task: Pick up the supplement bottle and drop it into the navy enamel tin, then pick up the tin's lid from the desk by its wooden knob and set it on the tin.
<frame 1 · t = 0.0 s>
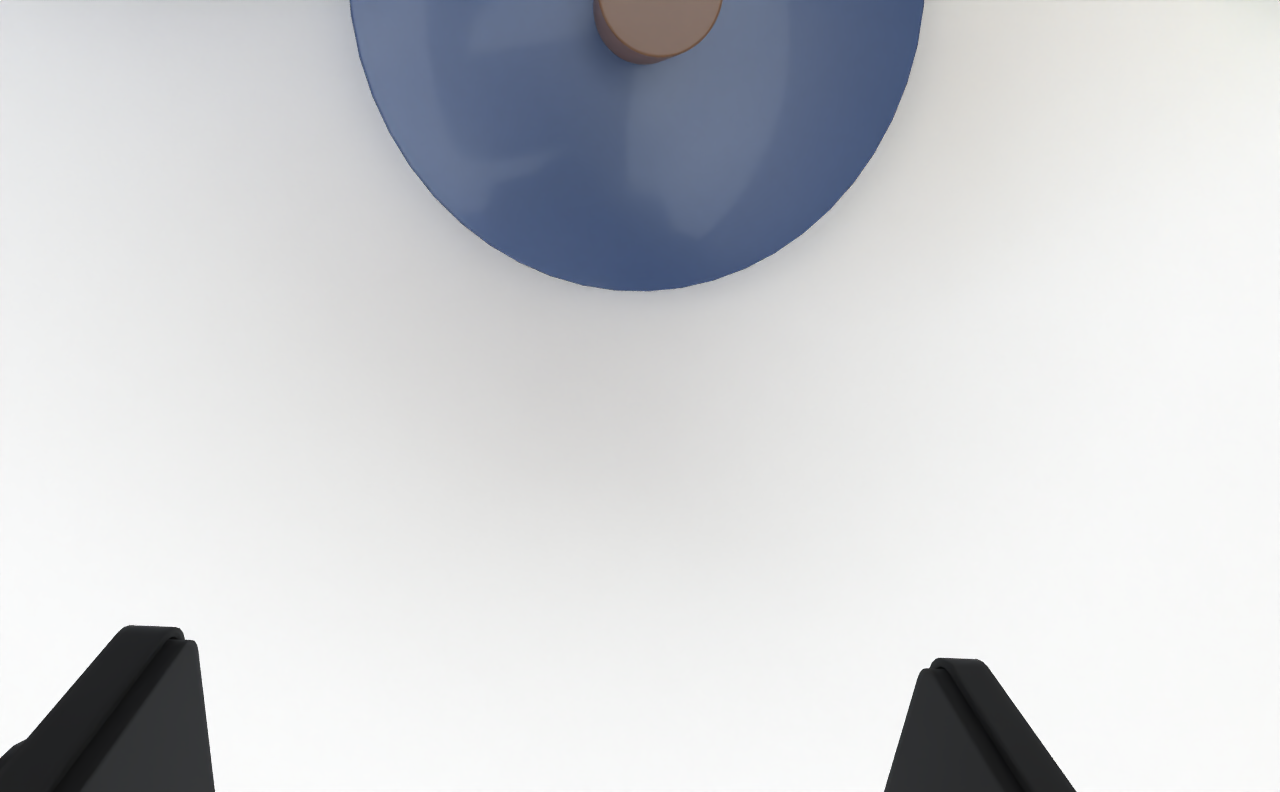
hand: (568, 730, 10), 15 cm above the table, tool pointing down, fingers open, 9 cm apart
tin lid: (642, 11, 20), point 1 cm above the table
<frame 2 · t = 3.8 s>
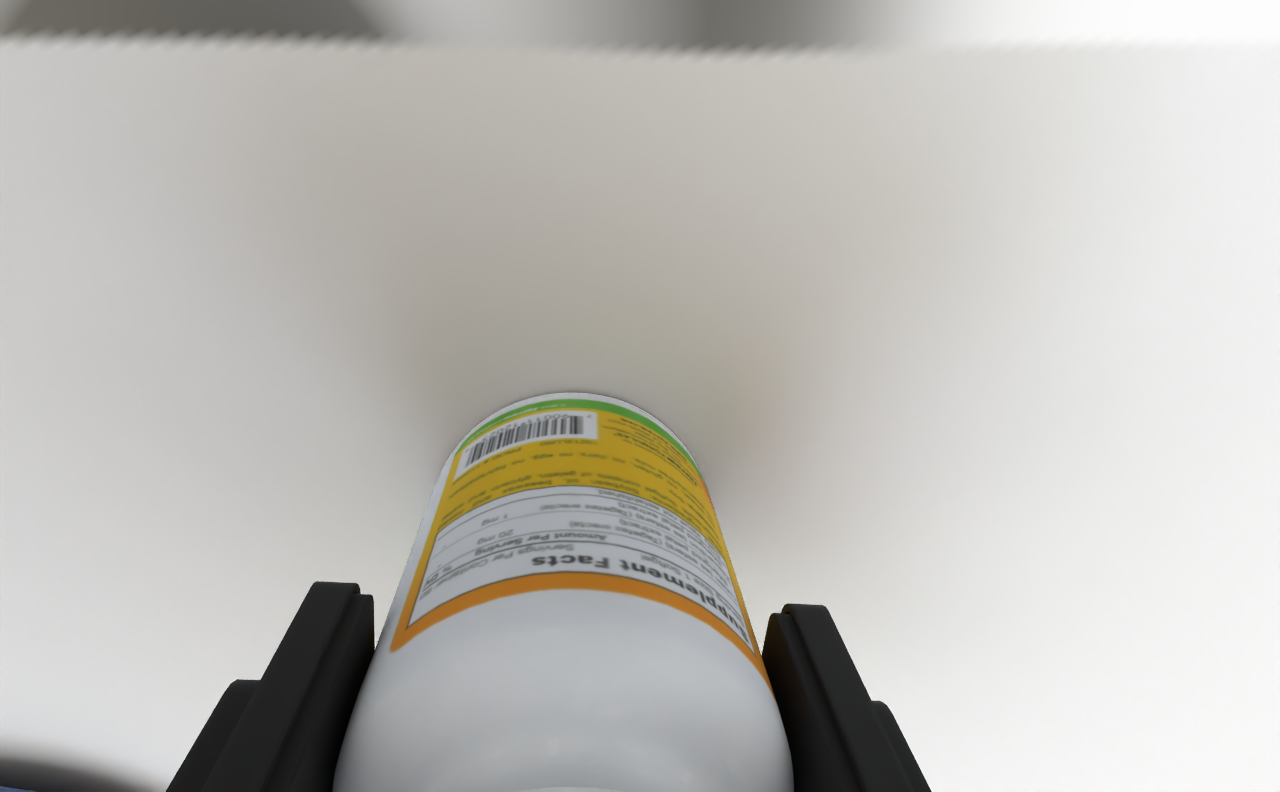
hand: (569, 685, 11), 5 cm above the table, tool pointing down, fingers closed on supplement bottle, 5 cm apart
supplement bottle: (572, 506, 16), on the table, touching gripper
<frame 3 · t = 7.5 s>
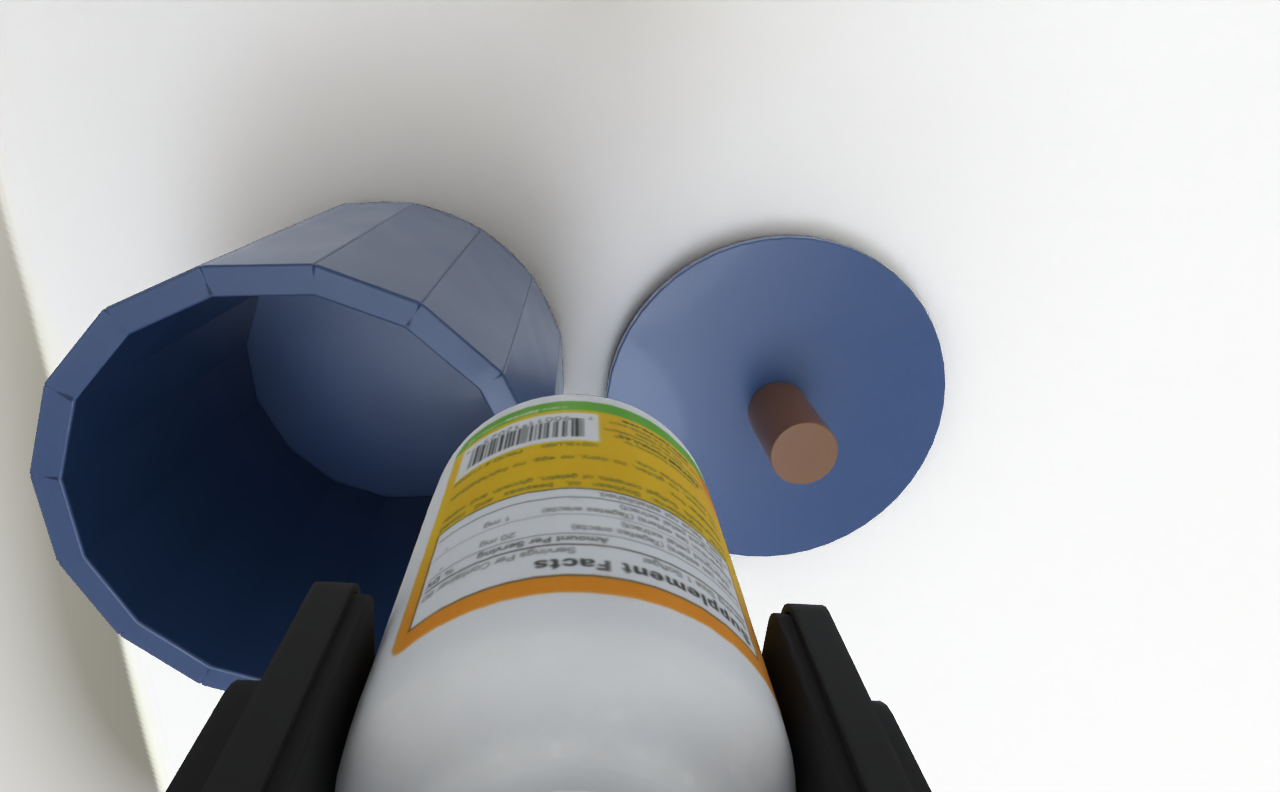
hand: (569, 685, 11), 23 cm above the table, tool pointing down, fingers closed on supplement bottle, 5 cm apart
tin: (402, 365, 33), on the table
tin lid: (774, 404, 34), point 1 cm above the table
supplement bottle: (573, 507, 16), point 18 cm above the table, touching gripper
when the fingers open (12 cm above the table, at t = 11.4 s): supplement bottle drops 6 cm, resting on tin.
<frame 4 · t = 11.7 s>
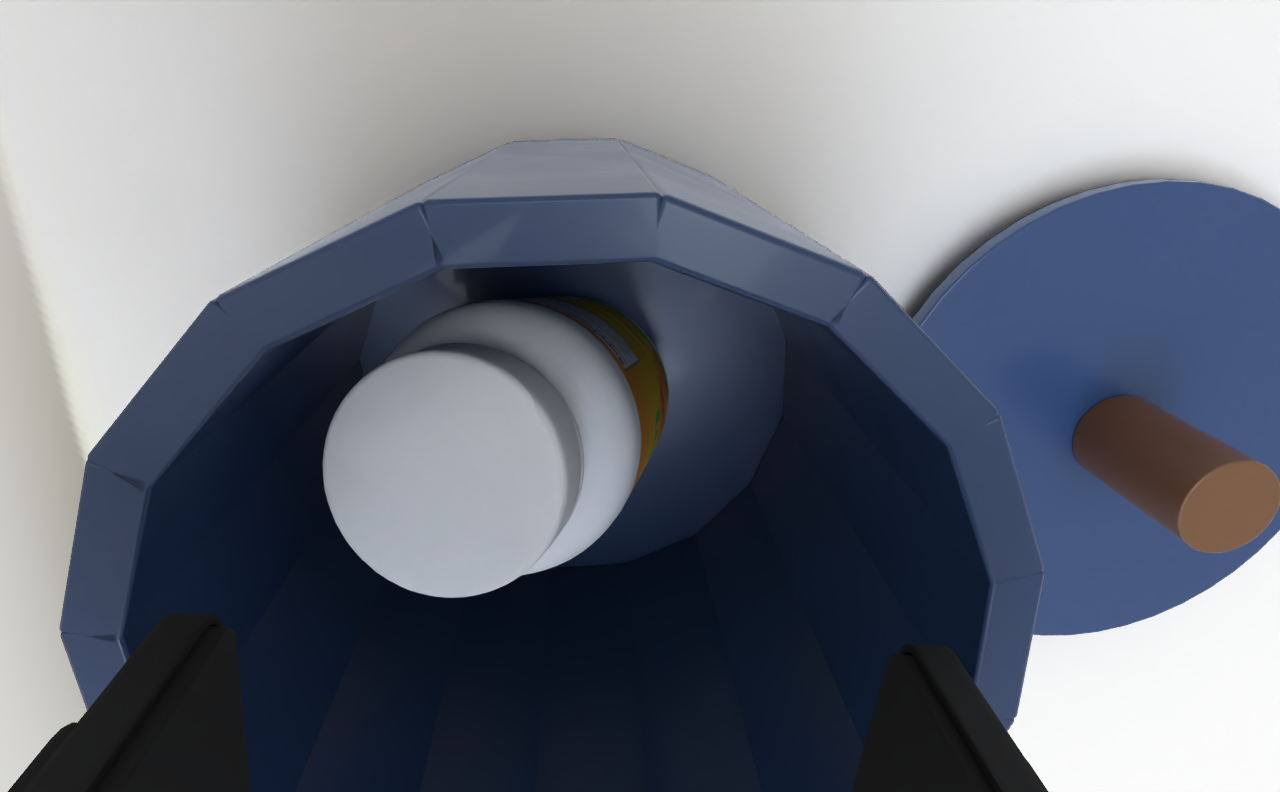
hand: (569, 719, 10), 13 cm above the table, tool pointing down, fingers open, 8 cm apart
tin: (578, 381, 23), on the table
tin lid: (1101, 426, 24), point 1 cm above the table
supplement bottle: (576, 392, 22), point 1 cm above the table, touching tin
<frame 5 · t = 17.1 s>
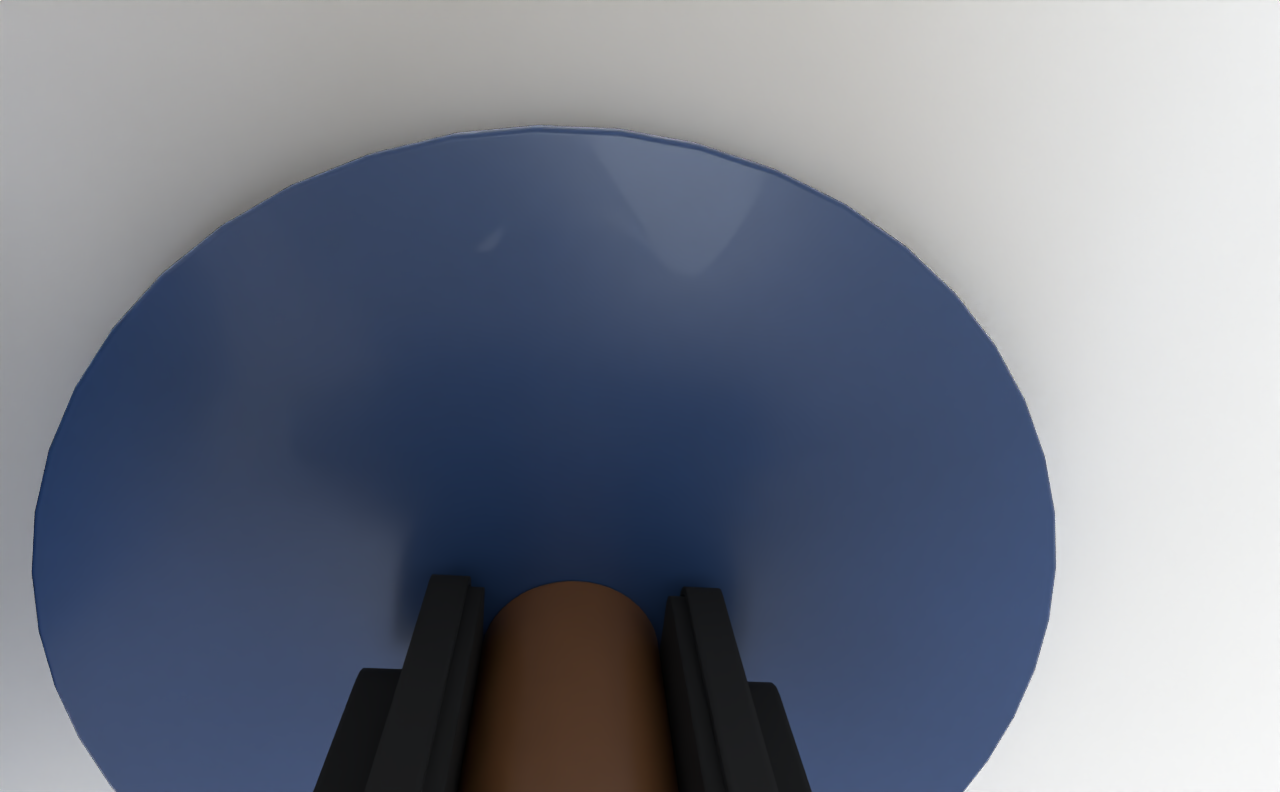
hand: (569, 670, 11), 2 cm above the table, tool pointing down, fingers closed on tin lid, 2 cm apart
tin lid: (571, 627, 12), point 1 cm above the table, touching gripper
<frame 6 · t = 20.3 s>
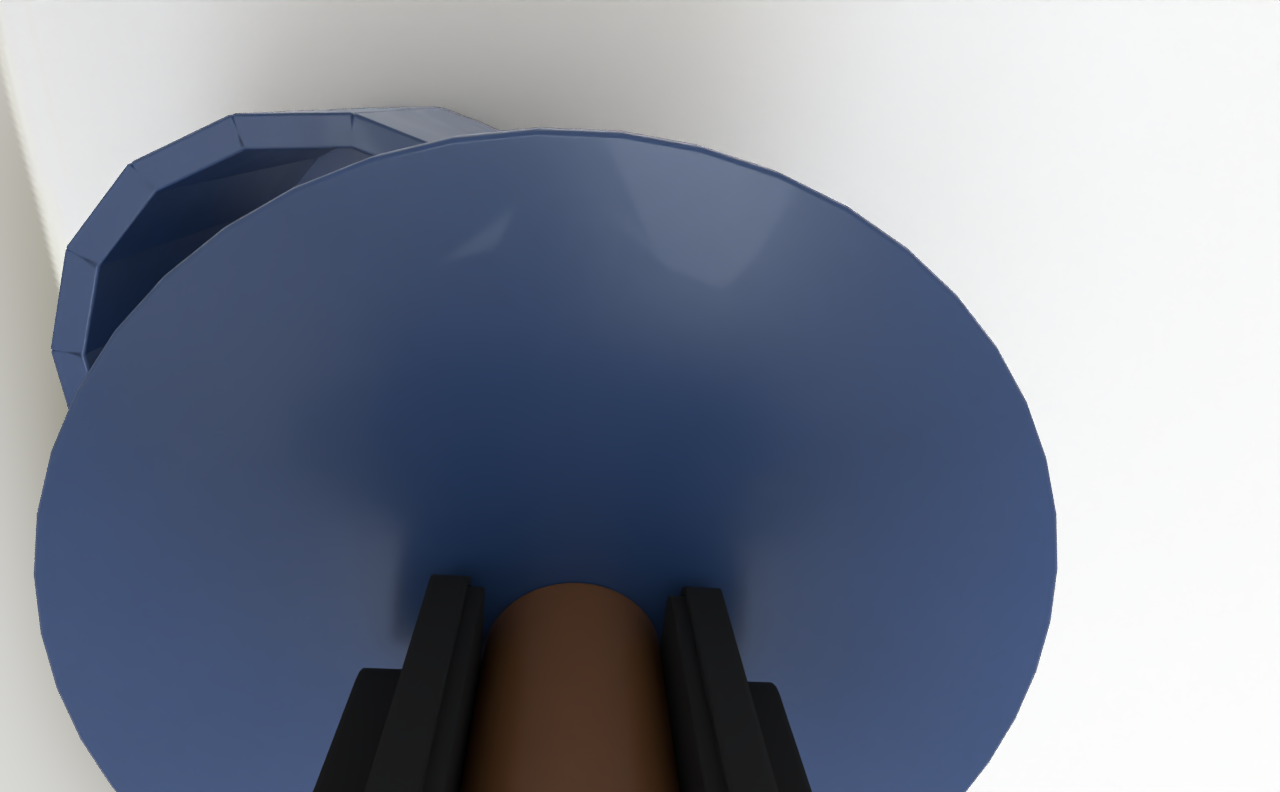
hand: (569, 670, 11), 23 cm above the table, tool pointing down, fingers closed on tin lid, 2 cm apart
tin: (427, 284, 32), on the table
tin lid: (572, 628, 12), point 22 cm above the table, touching gripper
when the fingers open (13 cm above the table, at t = 23.9 s): tin lid stays where it is, resting on tin.
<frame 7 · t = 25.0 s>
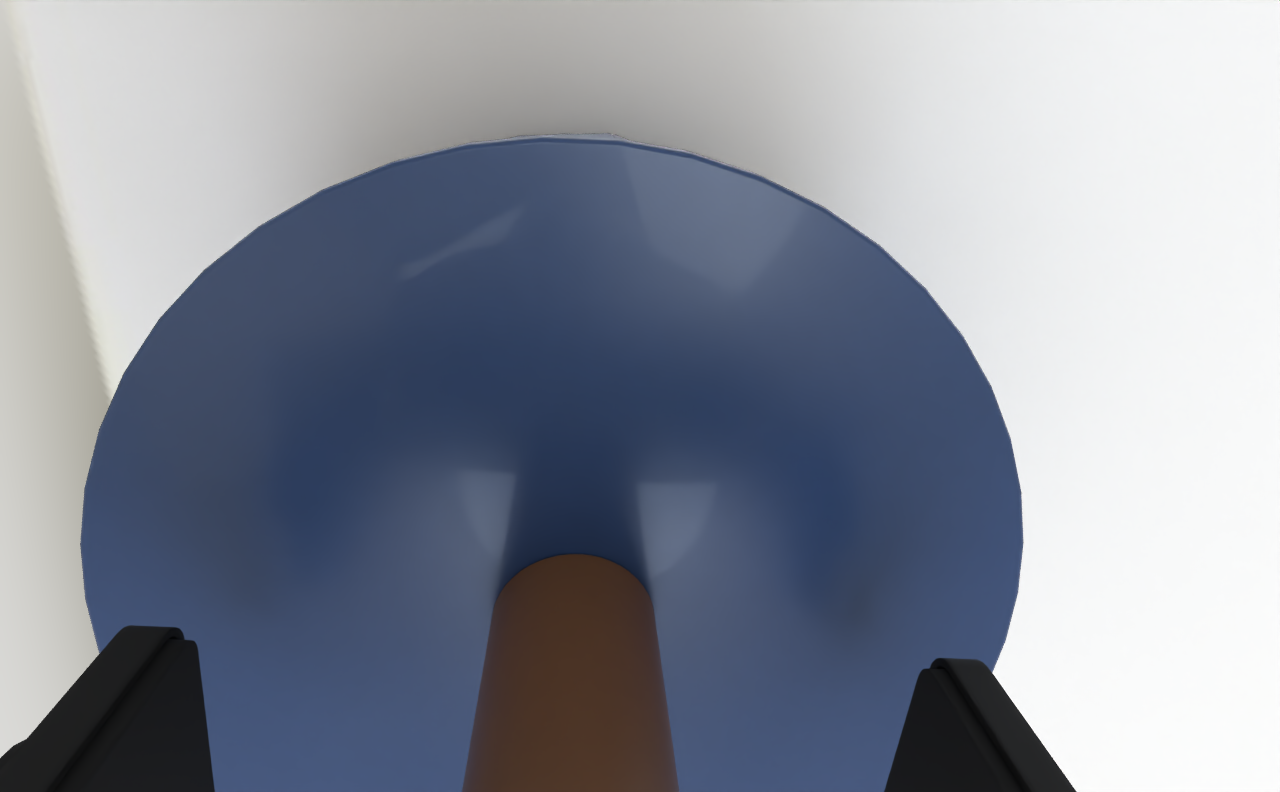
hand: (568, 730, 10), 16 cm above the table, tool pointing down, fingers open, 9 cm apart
tin lid: (574, 599, 13), point 12 cm above the table, touching tin
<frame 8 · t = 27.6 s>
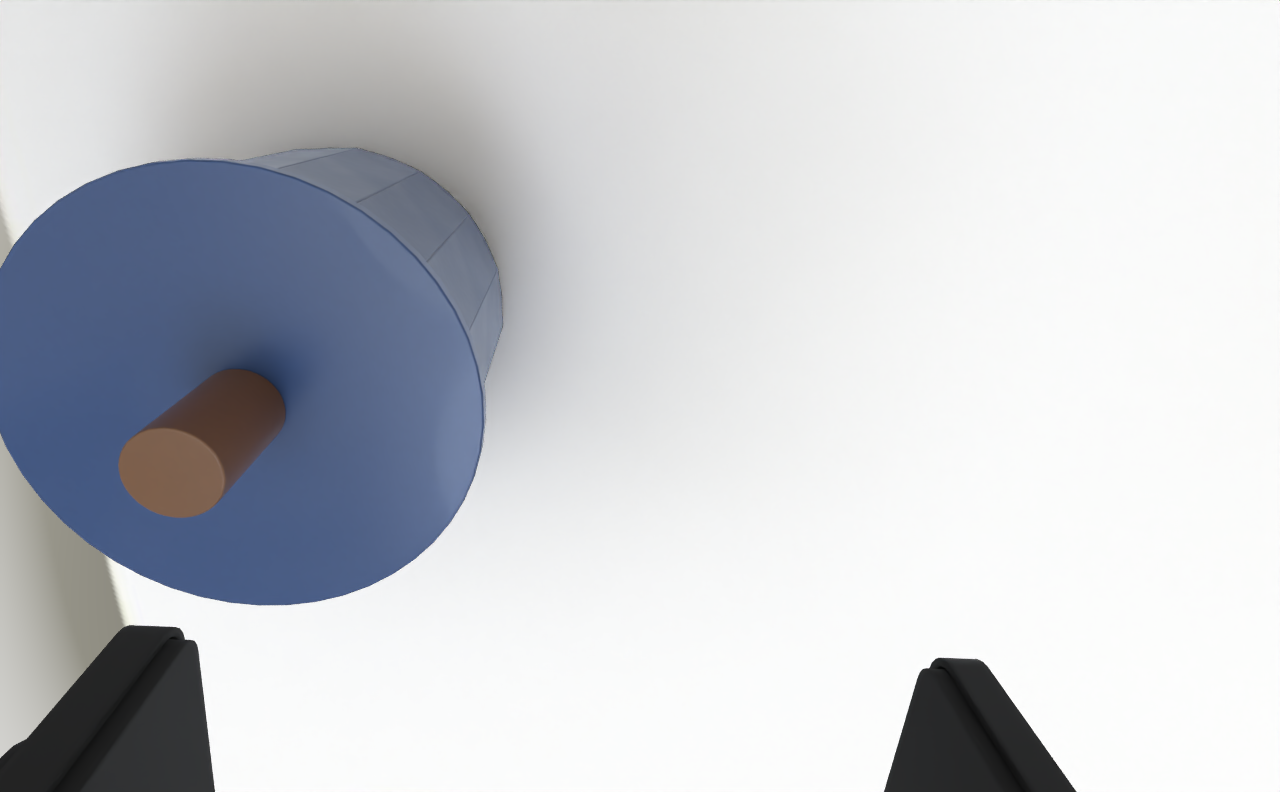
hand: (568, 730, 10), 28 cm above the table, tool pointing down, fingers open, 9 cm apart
tin: (355, 300, 36), on the table
tin lid: (250, 400, 25), point 12 cm above the table, touching tin
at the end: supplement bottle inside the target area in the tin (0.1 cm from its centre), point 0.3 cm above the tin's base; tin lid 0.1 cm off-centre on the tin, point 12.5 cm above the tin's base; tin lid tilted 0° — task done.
